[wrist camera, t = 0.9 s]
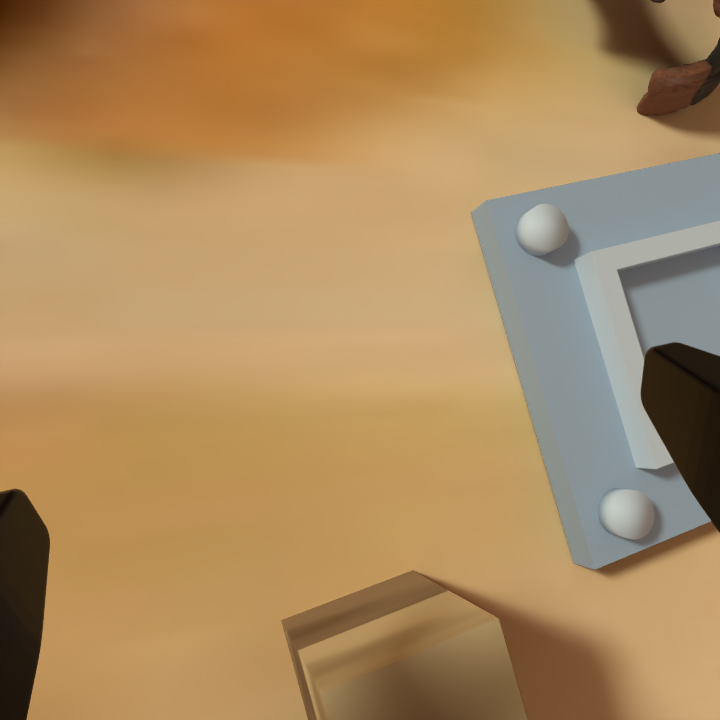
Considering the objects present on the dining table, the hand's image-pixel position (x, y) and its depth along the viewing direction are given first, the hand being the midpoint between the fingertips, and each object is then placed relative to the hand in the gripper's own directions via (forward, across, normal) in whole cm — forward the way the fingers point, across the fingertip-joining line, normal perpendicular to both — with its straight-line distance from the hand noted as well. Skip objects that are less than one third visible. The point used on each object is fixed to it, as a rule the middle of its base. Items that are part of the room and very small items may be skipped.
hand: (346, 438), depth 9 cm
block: (+5, +1, +13) cm, 14 cm away
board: (+12, -13, +9) cm, 20 cm away
